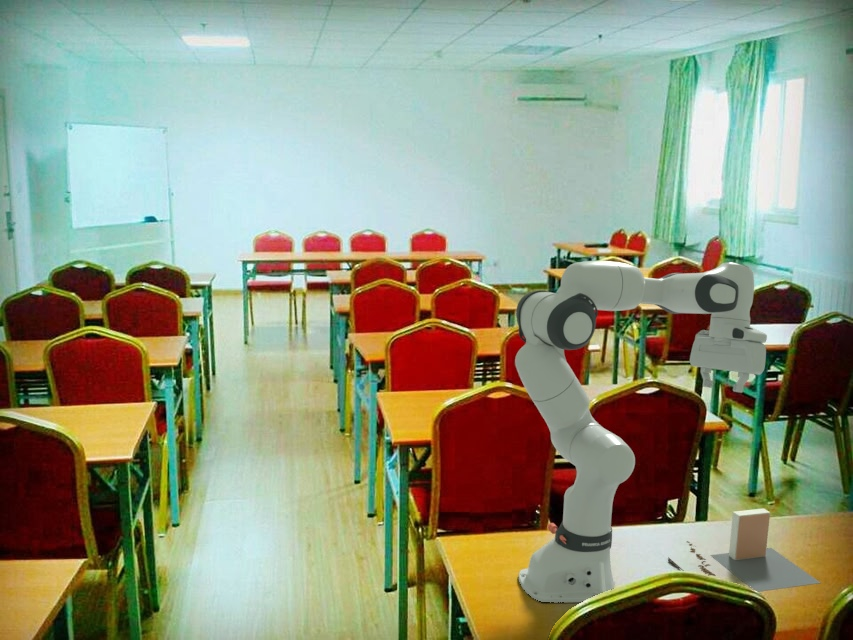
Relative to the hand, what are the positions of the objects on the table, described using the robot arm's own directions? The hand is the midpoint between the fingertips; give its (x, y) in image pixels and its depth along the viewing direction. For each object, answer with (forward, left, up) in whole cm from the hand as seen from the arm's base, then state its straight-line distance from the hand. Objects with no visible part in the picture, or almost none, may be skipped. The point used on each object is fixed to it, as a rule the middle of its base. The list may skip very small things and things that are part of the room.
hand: (722, 389), depth 186 cm
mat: (+13, -5, -46) cm, 48 cm away
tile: (+13, +2, -45) cm, 47 cm away
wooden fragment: (-2, +5, -46) cm, 47 cm away
